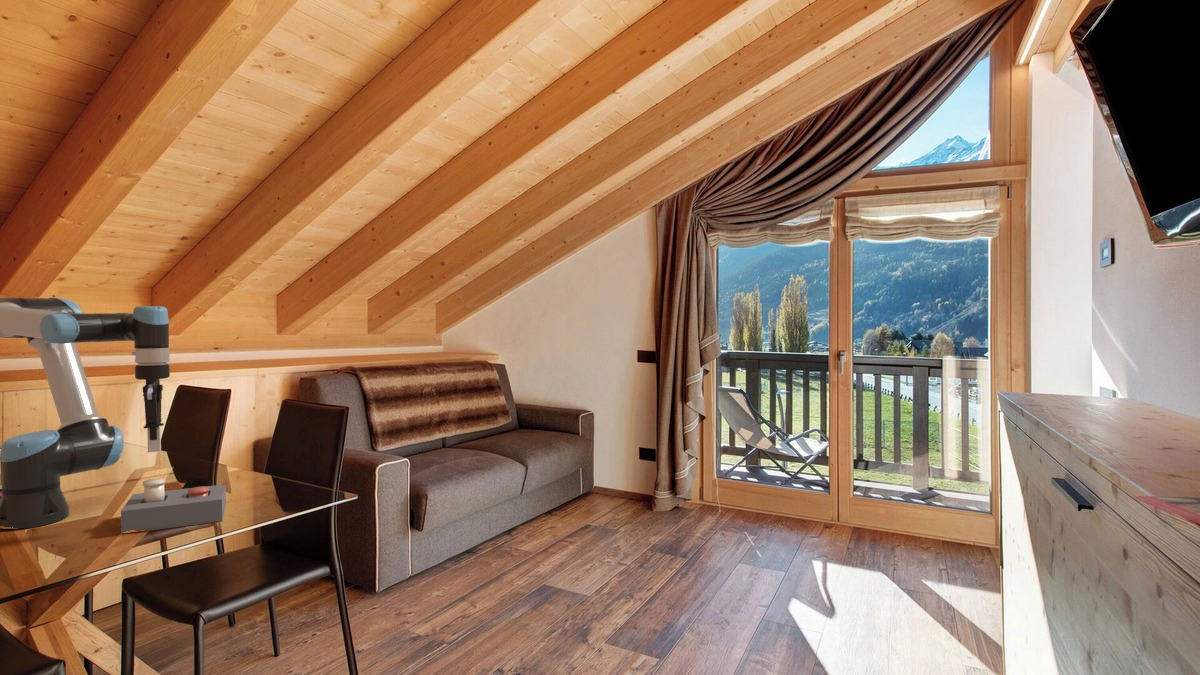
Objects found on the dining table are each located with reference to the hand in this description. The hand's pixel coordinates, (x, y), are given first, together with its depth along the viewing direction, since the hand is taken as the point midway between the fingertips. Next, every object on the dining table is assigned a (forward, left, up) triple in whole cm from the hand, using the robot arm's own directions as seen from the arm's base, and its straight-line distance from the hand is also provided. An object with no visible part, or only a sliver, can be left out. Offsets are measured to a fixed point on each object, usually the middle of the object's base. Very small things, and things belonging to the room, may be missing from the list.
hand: (154, 451), depth 167 cm
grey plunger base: (0, +5, -19) cm, 20 cm away
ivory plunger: (0, 0, -15) cm, 15 cm away
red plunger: (0, +10, -18) cm, 21 cm away
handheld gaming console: (-20, +5, -20) cm, 28 cm away
